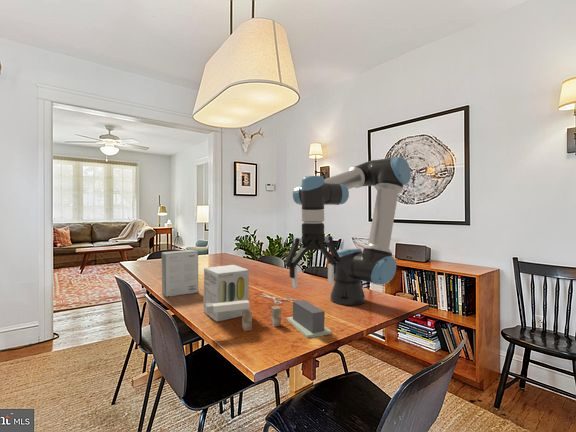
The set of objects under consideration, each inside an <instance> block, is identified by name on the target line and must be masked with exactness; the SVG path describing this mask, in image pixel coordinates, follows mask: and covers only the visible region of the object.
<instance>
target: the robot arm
mask: <svg viewBox="0 0 576 432" xmlns="http://www.w3.org/2000/svg"><path fill="white" fill-rule="evenodd" d="M411 177H412V175H411V168H410V165H409V163H408V161H407V160H406V158H404V157H402V156H398V157H397V156H396V157H394V156H392V157H388V158H387V157H386V158H382V159H372V160H369V161H366V162H363V163H360V164H358V165H356V166H353V167H350V168H349V169H348V170H347V171H344V172H342V173H338V174H336V175H333V176H330V177H327V178H324V176H321V175H307V176H304V177H302V179H301V185H299V186H296V187H295V188H294V189H293V191H292V198H293V201H294V203H295V204H297V205H300V206H301V222H303V223H301V237H293V238H292V245H291V247H290V249H289V251H288V254H287V256H286V258H285V259H284V260H285V261H284V262H283V266H285V267H287V268H289V277H290V278H291V287H292V288H294V289H295V290H296V289H298V268H297V266H298V264H299V263H300V261H301V260H302V258H303V257H304V256H305V254H306V253H308V252H309V251H310V252H311V251H320V252H321V254H322V255H323V256H324V257H325V258H326V260H327V261H328V262H329V263H328V264H327V283H328V284H330V285H333V286H332V288H331V293H330V301H331V302H333V303H335V304H338V305H343V306H358V305H359V306H360V305H363V304H364V303H365V302H366V296H365V293H364V292H365V291H364V289H363V286H362V281H364V282H367V283H372V284H373V285H374V284H375V285H387V284H389V283H390V282H391V281H392V280H393V278H394V277H395V274H396V270H397V264H396V263H397V260H396V259H395V258H394V257H393V252H392V251H391V249H390V246H391V240H392V239H391V238H392V234H393V226H394V220H395V214H396V209H397V203H398V197H399V194H400V193H401V192H403V188H404V185H407V184H409V182H410V181H411ZM362 187H374V189H375V190H376V191H377V192H376V195H375V196H376V197H375V202H374V208H373V213H372V221H371V226H370V232H369V236H368V243H367V245H366V246H364V247H363V249H361V248H346V249H344V248H343V249H336V246H335V243H334V240H333V239H334V238H333V236H331V235H324V234H325V223H324V222H325V206H326V205H330V206H331V205H333V206H336V205H337V206H339V205H343V204H345V203H346V202H347V201H348V199H349V198H350V189H353V188H355V189H359V188H362ZM324 243H326V245H327V247H328V249H329V250H327V247H325V245H324ZM301 244H302V245H301ZM300 245H301V246H300ZM299 246H300V248H299ZM298 248H299V250H298ZM362 250H363V251H362ZM297 251H298V252H297ZM329 251H330V252H329Z"/></svg>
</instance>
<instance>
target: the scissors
mask: <svg viewBox="0 0 576 432" xmlns="http://www.w3.org/2000/svg"><path fill="white" fill-rule="evenodd" d="M262 294H263V295H260V294H258V296H261V297H264V298H269V299H271V300H273V301H274V304H275V305H281V304H282V303H283V302H282V301H280V299H281V300H285V301H298V299H297V298H296V299H295V298H291V297H276V296H270V295H269V294H266V293H264V292H262ZM276 299H277V300H276ZM278 299H279V300H278Z"/></svg>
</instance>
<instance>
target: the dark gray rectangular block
mask: <svg viewBox="0 0 576 432" xmlns="http://www.w3.org/2000/svg"><path fill="white" fill-rule="evenodd" d="M325 315H326V314H325V311H324V310H323V309H321V308H319V307H317V306H316V305H314V304H313V303H311V302H309V301H307V300H305V299H299V300H298V299H297V300H292V317H293V320H295V321H296V322H298V323H299V324H300V325H302V326H303V327H304V328H306V329H307V330H309V331H310V332H311V333H317V332H322V331H324V326H325Z"/></svg>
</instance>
